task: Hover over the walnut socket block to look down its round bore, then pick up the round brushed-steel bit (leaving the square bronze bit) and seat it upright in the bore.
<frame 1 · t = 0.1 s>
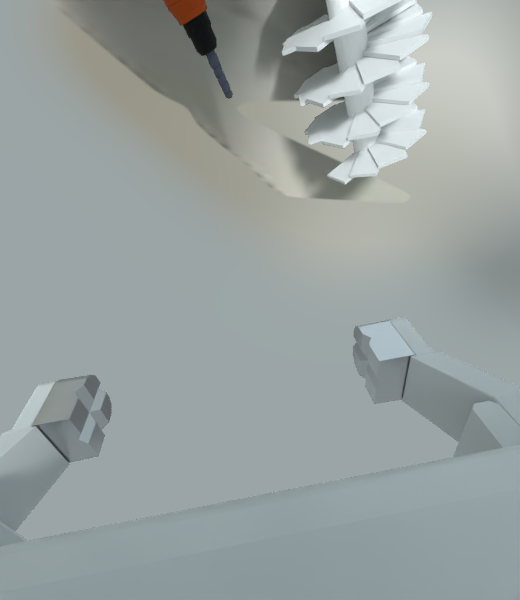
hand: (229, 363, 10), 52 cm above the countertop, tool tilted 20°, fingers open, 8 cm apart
spiral staircase: (336, 42, 48), on the countertop
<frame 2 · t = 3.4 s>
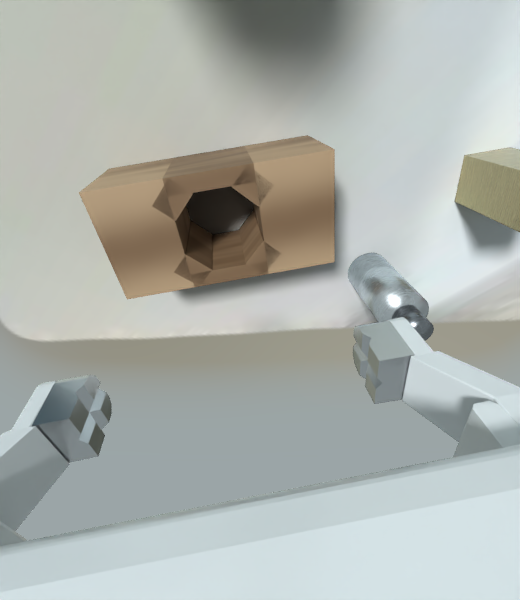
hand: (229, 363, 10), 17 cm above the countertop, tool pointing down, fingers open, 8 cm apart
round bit: (366, 270, 29), on the countertop
square bit: (481, 175, 26), on the countertop
socket block: (219, 201, 24), on the countertop
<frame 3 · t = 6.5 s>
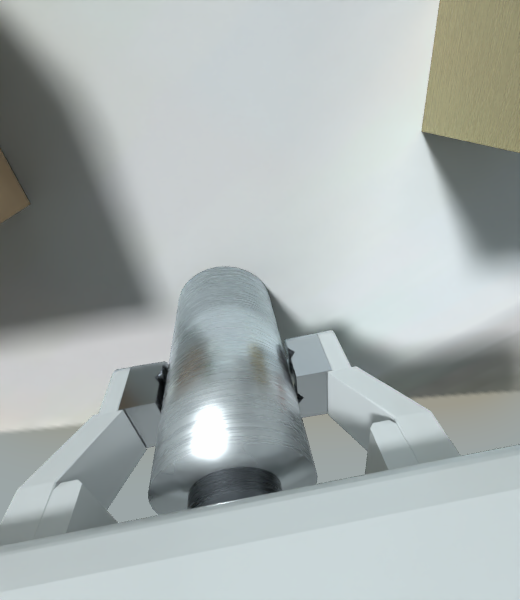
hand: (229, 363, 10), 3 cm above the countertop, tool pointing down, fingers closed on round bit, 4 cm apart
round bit: (225, 306, 13), on the countertop, touching gripper
square bit: (493, 49, 9), on the countertop
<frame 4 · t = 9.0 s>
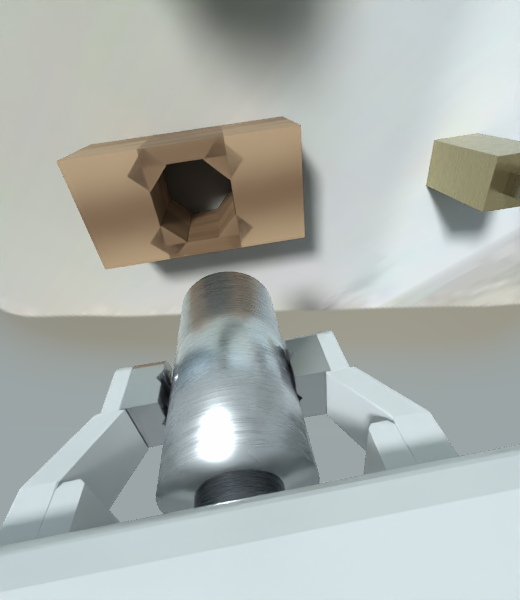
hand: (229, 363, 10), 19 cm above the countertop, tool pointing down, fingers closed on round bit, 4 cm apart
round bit: (228, 310, 13), point 16 cm above the countertop, touching gripper
square bit: (451, 160, 27), on the countertop
socket block: (198, 180, 25), on the countertop
when the fingers open (7 cm above the countertop, at t = 11.4 s): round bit drops 4 cm, resting in socket block.
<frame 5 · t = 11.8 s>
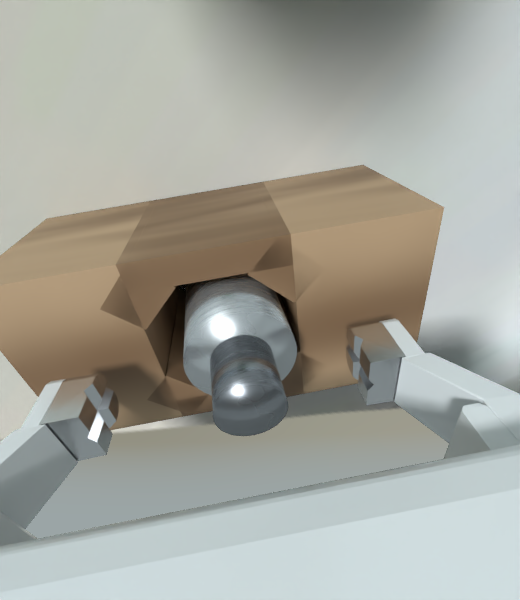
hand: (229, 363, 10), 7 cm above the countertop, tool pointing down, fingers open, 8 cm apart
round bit: (224, 262, 16), resting in socket block
socket block: (222, 262, 16), on the countertop
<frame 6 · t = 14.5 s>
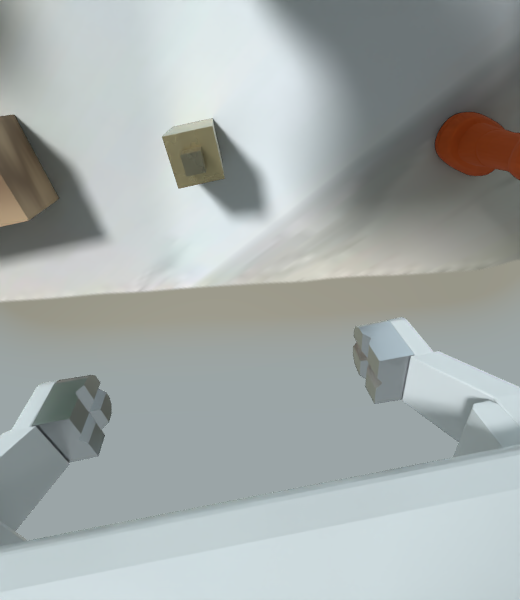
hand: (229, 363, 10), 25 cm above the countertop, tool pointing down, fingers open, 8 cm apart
toy drill: (498, 160, 33), on the countertop
square bit: (198, 144, 29), on the countertop
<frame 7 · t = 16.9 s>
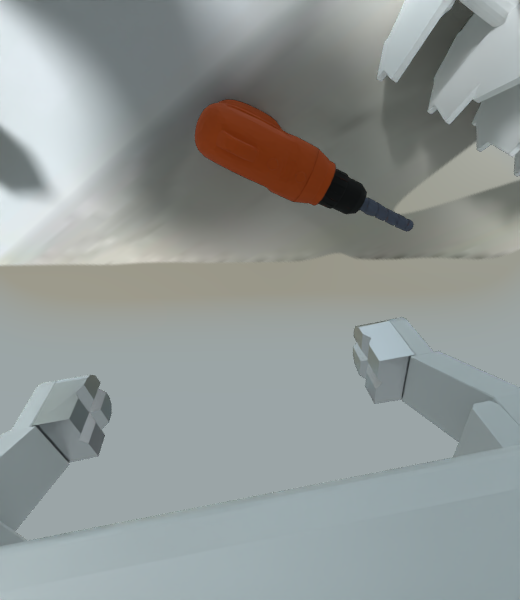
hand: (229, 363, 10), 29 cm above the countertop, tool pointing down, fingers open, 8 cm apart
toy drill: (283, 151, 34), on the countertop
spiral staircase: (488, 45, 31), on the countertop
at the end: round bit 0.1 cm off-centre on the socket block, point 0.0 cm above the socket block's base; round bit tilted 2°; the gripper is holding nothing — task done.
